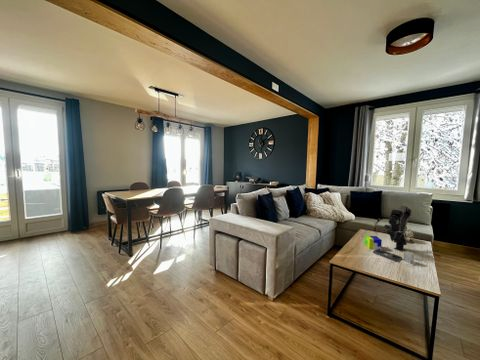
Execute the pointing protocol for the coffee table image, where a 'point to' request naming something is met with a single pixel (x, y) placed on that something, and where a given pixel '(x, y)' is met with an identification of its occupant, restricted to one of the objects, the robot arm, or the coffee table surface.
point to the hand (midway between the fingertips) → (394, 240)
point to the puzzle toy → (373, 242)
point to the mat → (408, 263)
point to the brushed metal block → (408, 257)
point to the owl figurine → (409, 235)
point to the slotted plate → (388, 256)
